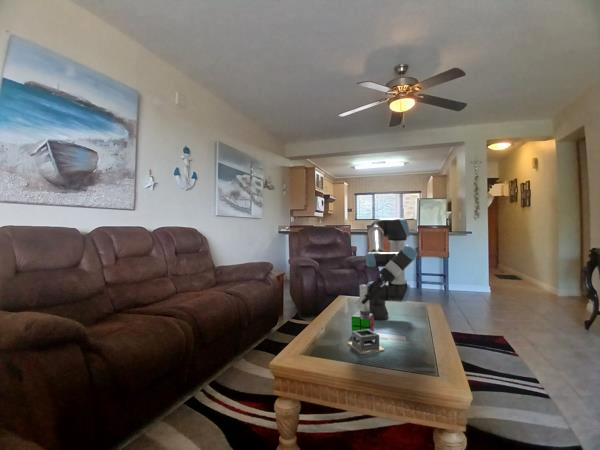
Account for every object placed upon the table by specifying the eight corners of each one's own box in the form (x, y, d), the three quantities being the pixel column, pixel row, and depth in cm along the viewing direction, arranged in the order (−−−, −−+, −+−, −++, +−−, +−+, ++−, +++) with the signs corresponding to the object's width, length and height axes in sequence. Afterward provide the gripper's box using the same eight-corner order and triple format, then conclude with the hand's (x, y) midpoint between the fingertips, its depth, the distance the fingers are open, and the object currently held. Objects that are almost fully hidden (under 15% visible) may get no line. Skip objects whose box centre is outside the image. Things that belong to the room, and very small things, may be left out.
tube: (358, 317, 147) (357, 284, 147) (366, 316, 148) (366, 284, 149) (363, 320, 142) (362, 286, 143) (371, 319, 144) (370, 285, 144)
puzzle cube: (373, 331, 168) (373, 313, 168) (370, 337, 159) (369, 318, 159) (356, 329, 172) (355, 311, 173) (351, 334, 163) (351, 316, 164)
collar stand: (347, 343, 150) (347, 329, 150) (369, 340, 153) (368, 327, 154) (361, 354, 137) (360, 339, 137) (384, 350, 140) (384, 336, 140)
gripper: (401, 280, 136) (365, 317, 137) (391, 275, 154) (359, 307, 154) (388, 268, 137) (353, 305, 137) (380, 264, 154) (349, 297, 155)
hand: (356, 306), depth 146 cm, fingers closed on tube, 4 cm apart
